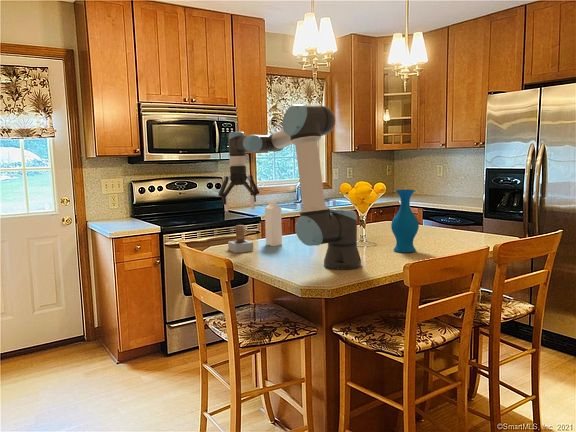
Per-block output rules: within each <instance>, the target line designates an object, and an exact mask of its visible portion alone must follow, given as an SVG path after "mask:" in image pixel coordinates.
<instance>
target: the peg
mask: <svg viewBox="0 0 576 432" xmlns="http://www.w3.org/2000/svg"><path fill="white" fill-rule="evenodd" d="M245 240H246V238H245V225H244V224H236V225H235V241H236V243H237V244H238V243H245Z"/></svg>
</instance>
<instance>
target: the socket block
mask: <svg viewBox="0 0 576 432" xmlns="http://www.w3.org/2000/svg"><path fill="white" fill-rule="evenodd" d="M227 243H228V244H227V248H228V249H227V250H228V251H230V252H232V253H233V252H234V254H235V253H236V254H238V253H246V252H253V251H254V242H253V241H251V240H247V239H245V243H238V244H237V243H236V240H231V241H227Z"/></svg>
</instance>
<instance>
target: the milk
mask: <svg viewBox="0 0 576 432" xmlns="http://www.w3.org/2000/svg"><path fill="white" fill-rule="evenodd" d="M264 218H265V219H264V221H265V222H264V223H265V224H264V225H265V245H266V246H269V245H270V247H277V246H282V245H283V231H282V230H283V227H282V224H283V223H282V207H281V206H279V205H277V201H271V200H270V201H269V204H268V205H267V206H266V207H264Z"/></svg>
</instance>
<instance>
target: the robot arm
mask: <svg viewBox="0 0 576 432" xmlns="http://www.w3.org/2000/svg"><path fill="white" fill-rule="evenodd" d="M281 124H282V130H279V131H276V132H275V133H272V134H269V135H268V134H266V135H263V134H247V135H246V134H245V132H244V131H231V132H229V133H228V153H229V165H230V166H229V174H230V176H228V175H224V177H223V182H222V184H221V187H220V189H219V192H218V194H217V196H218V197H221V199H222V205H223V206H224V212H226V213H227V212H229V198H228V197H227V196H228V195H229V194H230V192H231V191H232V190H233V188H234V187H235V186H244V188H245V189H246V190H247V191H248V192H249V193H250V194H251V195H250V196H249V198H250V210H255V207H256V206H255V205H256V204H255V203H256V201H257V195H259V194H260V191H259V189H258V186H257V185H256V183H255V181H254V178H253V175H252V174H248V175H247V166H246V163H247V162H246V160H247V159H246V153H260V152H261V153H262V152H267V153H268V152H270V153H271V152H274V153H275V152H281V151H283V149H285V148H286V147H288V146H292V145H294V147H295V152H296V161H297V162H296V163H297V169H298V176H299V184H300V185H299V186H300V191H301V192H300V194H301V202H302V208H301V209H300V211H299V217H298V218H297V219H296V221H295V222H296V223H295V225H294V228H295V229H294V230H295V234H296V236H297V238H298V240H299V241H300V242H301V243H302V244H304V245H305V246H308V247H312V246H313V247H314V246H317V247H318V246H320V245H324V244H327V249H326V253H325V256H324V259H323V266H324V267H325V268H327V269H333V270H354V269H355V270H356V269H358V268H361V267H362V259H361V256H360V252H359V250H358V246H357V245H358V241H357V240H358V218H357V217H358V216H357V215H358V214H357V213H356V211H355V210H352V209H351V210H350V209H344V208H342V209H341V208H330V207H328V205H326V201H325V200H326V199H325V193H324V185H323V184H324V183H323V176H322V169H321V168H322V167H321V162H320V160H321V159H320V153H319V145H318V143H319V141H320V140H321V138H322V137H323V136H326V135H329V134H330V133H331V132H333V130H334V128H335V126H336V116H335V114H334V112H333V110H332V109H330V108H329V107H327V106H324V105H317V104H316V105H314V104H304V103H300V104H292V105H290V106H289V107H288V108H287V109H286V111H285V113H284V114H283V117H282V122H281ZM246 180H247V181H248V182H249V183H248V182H247V181H246ZM229 181H231V182H230V183H229ZM228 183H229V185H228Z"/></svg>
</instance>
